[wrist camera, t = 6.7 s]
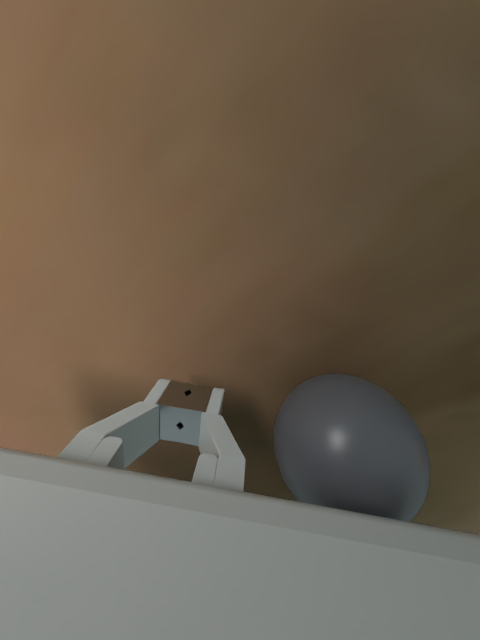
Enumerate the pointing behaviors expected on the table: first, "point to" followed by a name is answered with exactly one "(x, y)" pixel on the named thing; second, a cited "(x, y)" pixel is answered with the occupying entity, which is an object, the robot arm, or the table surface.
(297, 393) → the charcoal ball
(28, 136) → the table surface
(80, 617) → the robot arm
